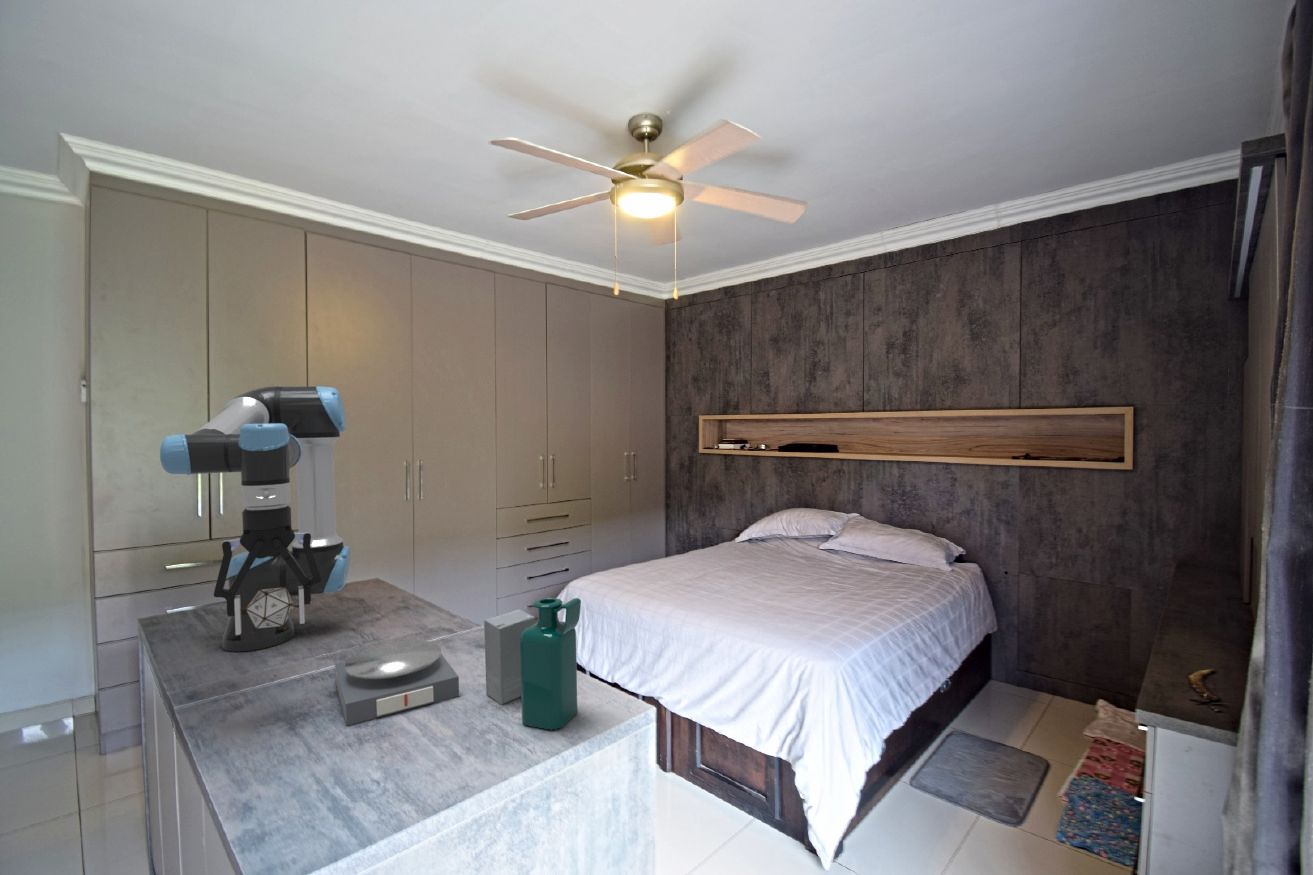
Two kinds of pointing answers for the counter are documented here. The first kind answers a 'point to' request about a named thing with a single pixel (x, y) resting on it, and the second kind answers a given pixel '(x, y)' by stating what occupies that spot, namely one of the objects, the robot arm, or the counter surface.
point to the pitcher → (549, 665)
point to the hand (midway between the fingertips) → (271, 626)
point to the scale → (394, 691)
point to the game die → (270, 607)
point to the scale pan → (393, 659)
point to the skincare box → (504, 654)
